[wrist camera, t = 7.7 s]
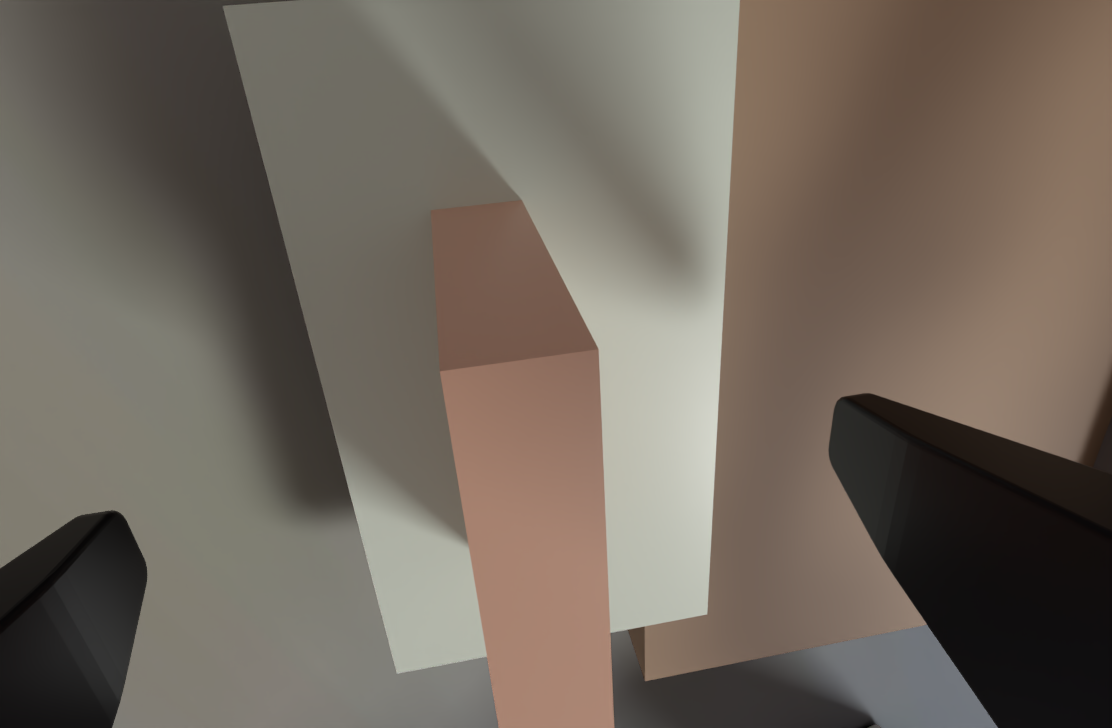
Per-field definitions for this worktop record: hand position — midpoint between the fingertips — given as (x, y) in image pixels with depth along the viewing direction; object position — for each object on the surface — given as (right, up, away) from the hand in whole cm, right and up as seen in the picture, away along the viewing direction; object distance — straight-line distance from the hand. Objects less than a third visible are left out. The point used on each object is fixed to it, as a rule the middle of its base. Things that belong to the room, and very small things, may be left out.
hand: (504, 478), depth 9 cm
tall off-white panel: (0, +1, +2) cm, 3 cm away
